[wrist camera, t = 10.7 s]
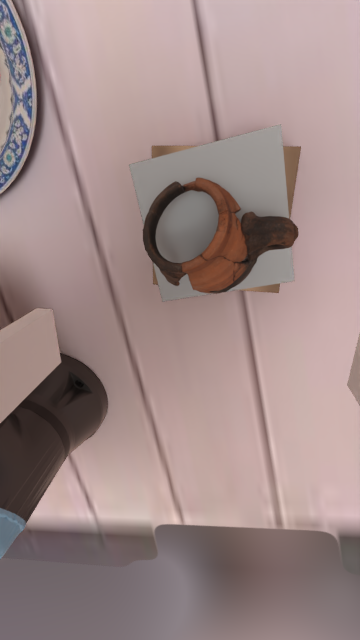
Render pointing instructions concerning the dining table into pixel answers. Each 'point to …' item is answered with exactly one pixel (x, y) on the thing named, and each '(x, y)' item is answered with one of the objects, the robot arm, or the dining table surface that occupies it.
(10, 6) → the ceramic plate
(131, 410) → the dining table surface
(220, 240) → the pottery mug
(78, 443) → the robot arm
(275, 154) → the top slab
